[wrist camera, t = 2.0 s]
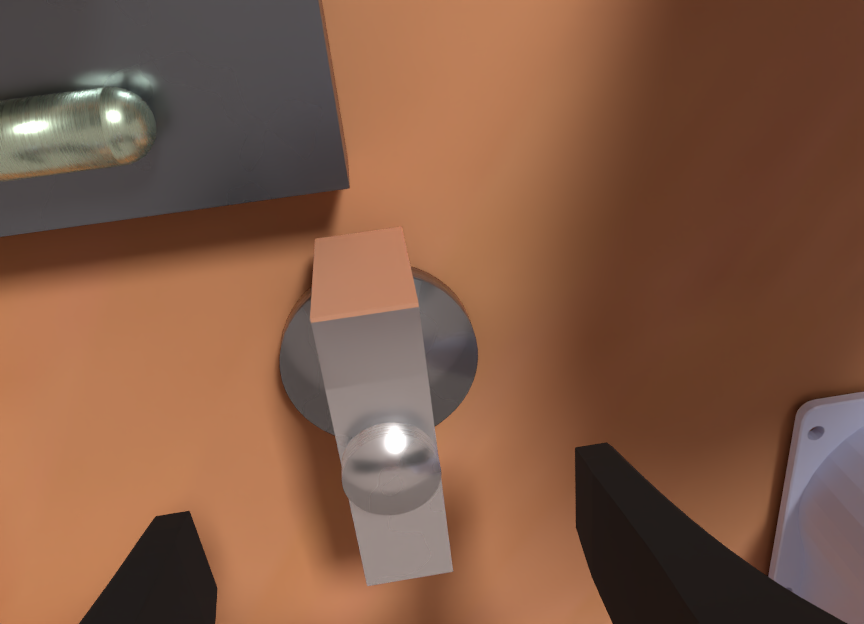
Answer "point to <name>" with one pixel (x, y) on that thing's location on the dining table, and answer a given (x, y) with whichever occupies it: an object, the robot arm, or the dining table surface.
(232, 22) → the levelling base
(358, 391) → the wing knob
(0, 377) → the dining table surface
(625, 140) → the dining table surface
